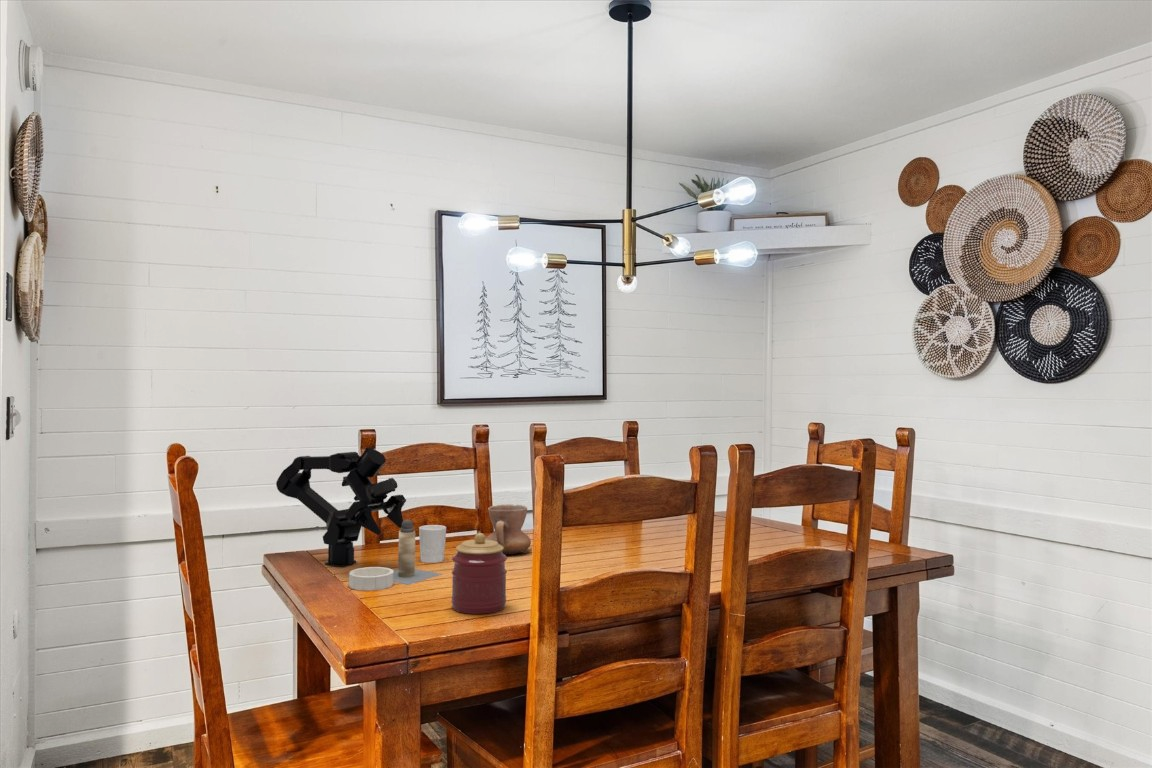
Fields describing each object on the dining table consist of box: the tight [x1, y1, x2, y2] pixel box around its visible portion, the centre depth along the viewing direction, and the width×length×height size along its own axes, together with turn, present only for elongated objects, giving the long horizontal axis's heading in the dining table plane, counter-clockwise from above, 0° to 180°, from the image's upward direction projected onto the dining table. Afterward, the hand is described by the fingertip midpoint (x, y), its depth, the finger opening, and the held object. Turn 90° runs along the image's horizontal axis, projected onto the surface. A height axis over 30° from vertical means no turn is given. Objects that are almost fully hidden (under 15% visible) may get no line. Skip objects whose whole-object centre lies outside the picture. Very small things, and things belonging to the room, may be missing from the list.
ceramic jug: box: [485, 503, 532, 555], centre depth 250 cm, size 18×14×14 cm
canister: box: [450, 532, 508, 615], centre depth 190 cm, size 13×13×18 cm
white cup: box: [418, 524, 447, 564], centre depth 236 cm, size 8×8×10 cm
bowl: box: [348, 566, 395, 592], centre depth 207 cm, size 11×11×4 cm
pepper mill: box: [397, 518, 416, 578], centre depth 217 cm, size 4×4×15 cm
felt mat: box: [393, 568, 443, 586], centre depth 218 cm, size 14×14×1 cm
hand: (391, 531), depth 220 cm, fingers open, 9 cm apart
